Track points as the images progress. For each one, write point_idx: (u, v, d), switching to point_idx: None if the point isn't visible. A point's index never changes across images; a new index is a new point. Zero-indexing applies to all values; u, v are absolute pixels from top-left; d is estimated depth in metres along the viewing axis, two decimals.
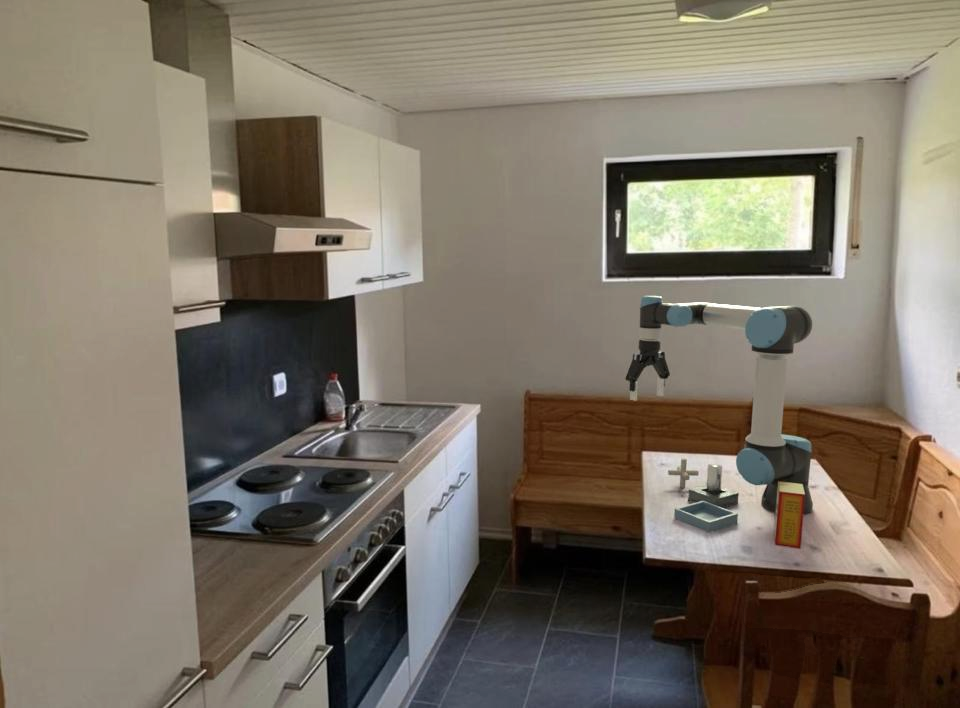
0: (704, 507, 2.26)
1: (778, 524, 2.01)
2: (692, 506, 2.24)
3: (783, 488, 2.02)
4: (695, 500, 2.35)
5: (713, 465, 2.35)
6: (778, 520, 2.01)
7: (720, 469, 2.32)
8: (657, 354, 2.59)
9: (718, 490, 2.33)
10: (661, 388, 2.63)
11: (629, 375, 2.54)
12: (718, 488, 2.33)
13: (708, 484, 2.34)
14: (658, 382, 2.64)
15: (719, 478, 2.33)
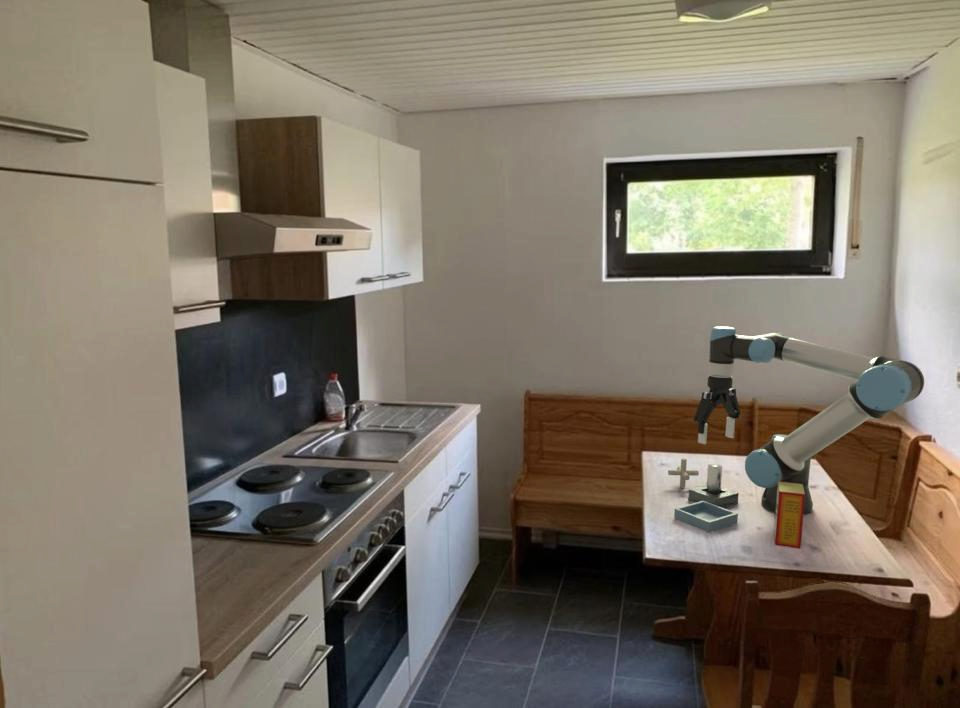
0: (704, 507, 2.26)
1: (778, 524, 2.01)
2: (692, 506, 2.24)
3: (783, 488, 2.02)
4: (695, 500, 2.35)
5: (713, 465, 2.35)
6: (778, 520, 2.01)
7: (720, 469, 2.32)
8: (728, 391, 2.31)
9: (718, 490, 2.33)
10: (731, 429, 2.36)
11: (698, 416, 2.26)
12: (718, 488, 2.33)
13: (708, 484, 2.34)
14: (727, 422, 2.36)
15: (719, 478, 2.33)
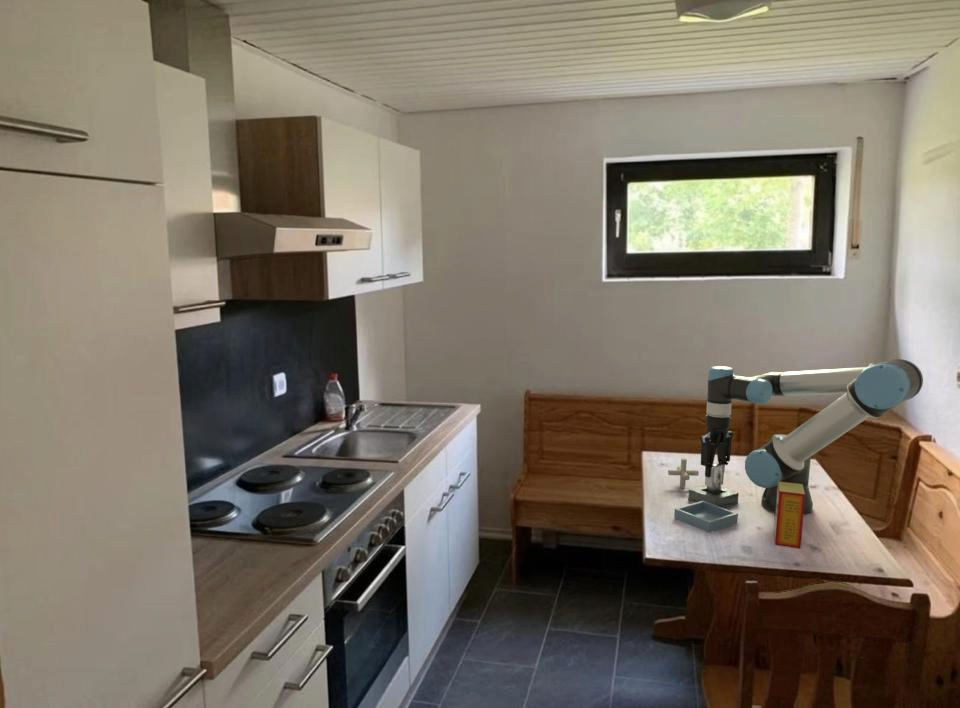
0: (704, 507, 2.26)
1: (778, 524, 2.01)
2: (692, 506, 2.24)
3: (783, 488, 2.02)
4: (695, 500, 2.35)
5: (713, 464, 2.35)
6: (778, 520, 2.01)
7: (720, 468, 2.32)
8: (726, 431, 2.33)
9: (718, 489, 2.33)
10: None
11: (704, 461, 2.30)
12: (718, 487, 2.33)
13: None
14: None
15: (719, 477, 2.33)
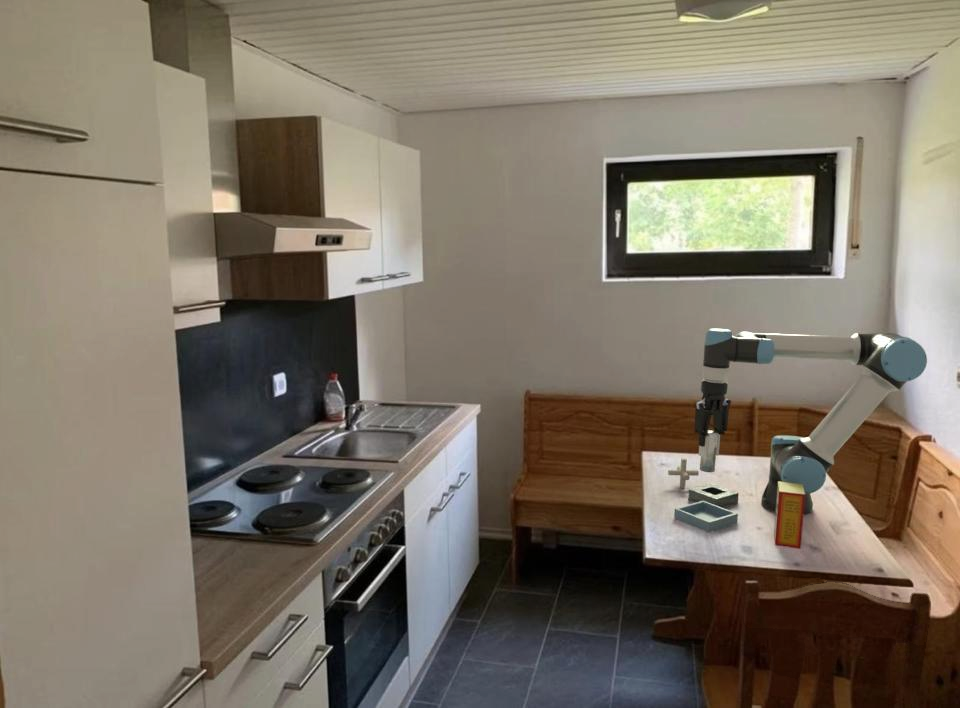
0: (704, 507, 2.26)
1: (778, 524, 2.01)
2: (692, 506, 2.24)
3: (783, 488, 2.02)
4: (695, 500, 2.35)
5: (708, 431, 2.21)
6: (778, 520, 2.01)
7: (715, 436, 2.18)
8: (723, 398, 2.19)
9: (713, 458, 2.19)
10: None
11: (697, 428, 2.17)
12: (713, 456, 2.19)
13: None
14: None
15: (714, 445, 2.19)
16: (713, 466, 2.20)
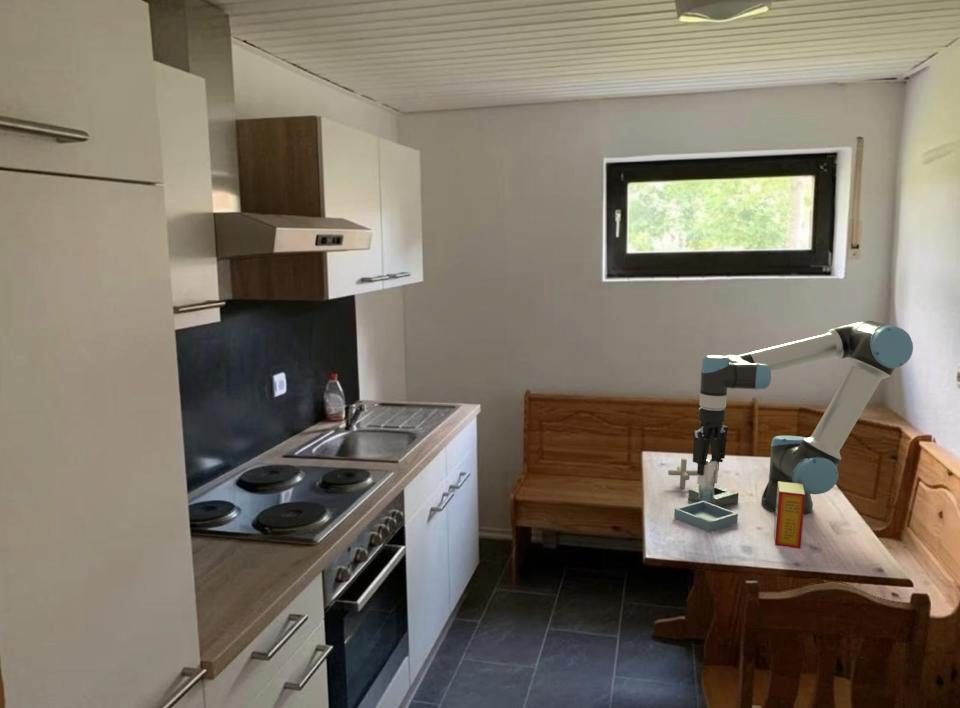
0: (704, 507, 2.26)
1: (778, 524, 2.01)
2: (692, 506, 2.24)
3: (783, 488, 2.02)
4: (695, 500, 2.35)
5: None
6: (778, 520, 2.01)
7: (714, 464, 2.14)
8: (721, 425, 2.15)
9: (712, 486, 2.15)
10: None
11: (696, 457, 2.12)
12: (712, 484, 2.15)
13: None
14: None
15: (713, 473, 2.15)
16: (712, 495, 2.16)
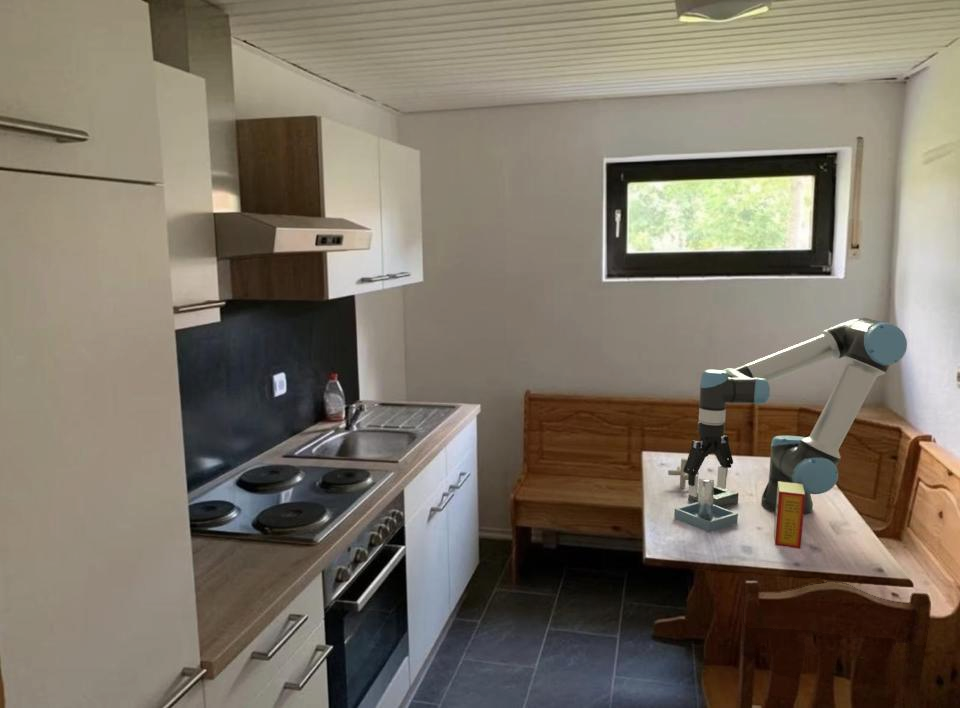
0: None
1: (778, 524, 2.01)
2: (692, 506, 2.24)
3: (783, 488, 2.02)
4: (695, 500, 2.35)
5: (704, 479, 2.18)
6: (778, 520, 2.01)
7: (711, 484, 2.15)
8: (720, 439, 2.16)
9: (710, 506, 2.16)
10: (723, 479, 2.20)
11: (688, 467, 2.11)
12: (710, 504, 2.16)
13: (699, 500, 2.17)
14: (719, 471, 2.21)
15: (711, 493, 2.16)
16: (711, 514, 2.17)
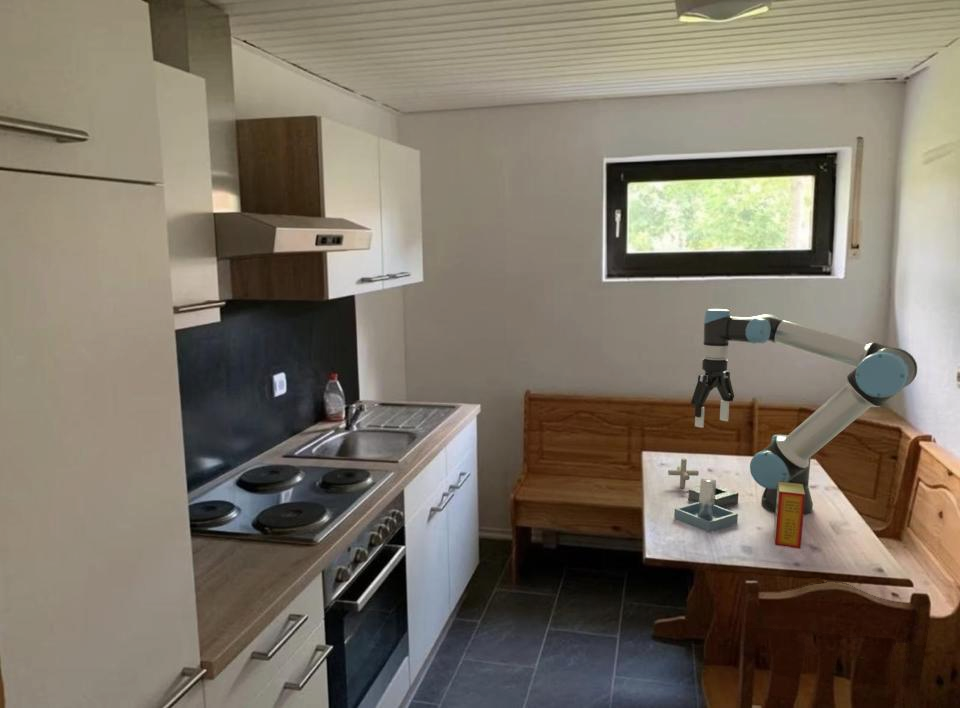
0: None
1: (778, 524, 2.01)
2: (692, 506, 2.24)
3: (783, 488, 2.02)
4: (695, 500, 2.35)
5: (706, 479, 2.17)
6: (778, 520, 2.01)
7: (714, 484, 2.15)
8: (722, 374, 2.30)
9: (711, 507, 2.16)
10: (725, 412, 2.34)
11: (695, 399, 2.24)
12: (711, 504, 2.16)
13: (700, 500, 2.17)
14: (722, 405, 2.35)
15: (713, 494, 2.16)
16: (711, 515, 2.17)
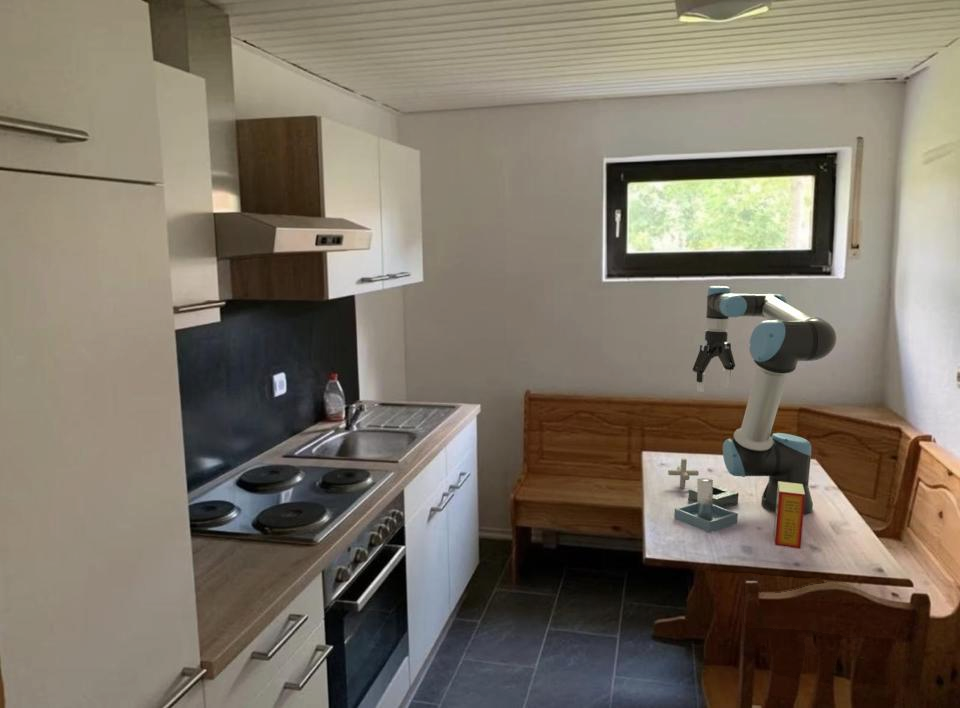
0: None
1: (778, 524, 2.01)
2: (692, 506, 2.24)
3: (783, 488, 2.02)
4: (695, 500, 2.35)
5: (703, 479, 2.18)
6: (778, 520, 2.01)
7: (710, 483, 2.15)
8: (723, 345, 2.57)
9: (710, 506, 2.16)
10: (726, 379, 2.61)
11: (697, 366, 2.52)
12: (710, 504, 2.16)
13: (699, 500, 2.17)
14: (723, 373, 2.62)
15: (710, 493, 2.16)
16: (711, 514, 2.17)
